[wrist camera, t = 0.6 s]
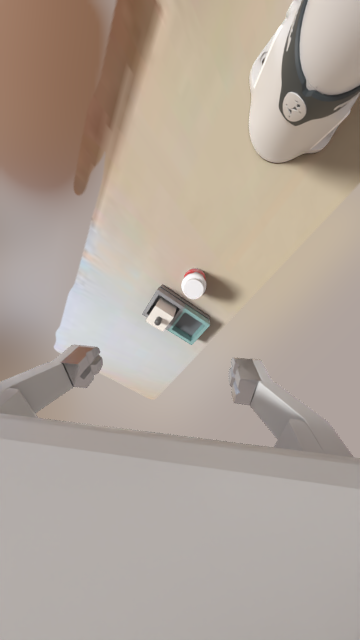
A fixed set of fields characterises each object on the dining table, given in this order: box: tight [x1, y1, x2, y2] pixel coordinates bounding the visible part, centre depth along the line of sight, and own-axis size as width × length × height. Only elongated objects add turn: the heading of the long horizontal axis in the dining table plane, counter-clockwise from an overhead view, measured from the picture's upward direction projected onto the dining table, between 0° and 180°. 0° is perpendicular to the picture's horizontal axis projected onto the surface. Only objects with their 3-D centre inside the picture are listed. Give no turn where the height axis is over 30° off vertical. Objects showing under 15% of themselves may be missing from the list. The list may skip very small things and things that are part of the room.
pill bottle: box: [181, 268, 206, 299], centre depth 40 cm, size 6×6×11 cm
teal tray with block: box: [142, 285, 210, 345], centre depth 45 cm, size 10×18×12 cm, turn 56°
